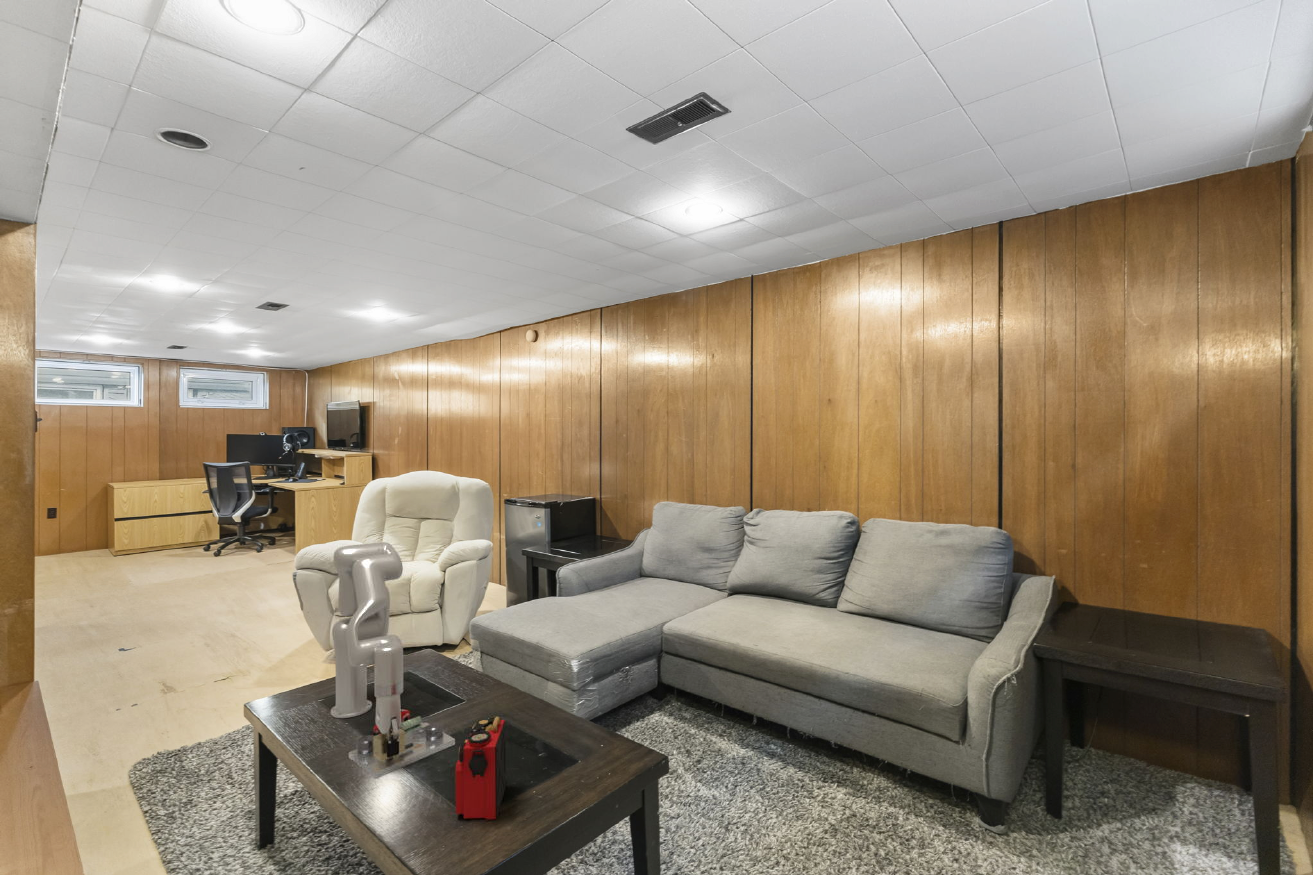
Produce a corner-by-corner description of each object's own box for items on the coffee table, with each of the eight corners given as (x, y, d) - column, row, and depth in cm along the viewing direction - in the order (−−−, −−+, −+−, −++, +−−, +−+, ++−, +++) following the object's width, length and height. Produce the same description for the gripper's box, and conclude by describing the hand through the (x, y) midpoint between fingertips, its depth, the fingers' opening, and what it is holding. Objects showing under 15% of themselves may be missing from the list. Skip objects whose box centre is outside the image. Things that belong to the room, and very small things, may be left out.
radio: (468, 787, 160) (468, 711, 161) (507, 785, 161) (507, 710, 161) (453, 824, 145) (453, 741, 145) (497, 822, 146) (496, 739, 146)
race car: (383, 737, 188) (382, 724, 188) (369, 735, 190) (369, 722, 190) (413, 719, 201) (413, 706, 201) (400, 716, 203) (400, 704, 203)
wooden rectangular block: (381, 764, 168) (381, 741, 168) (373, 759, 171) (373, 736, 171) (416, 749, 177) (416, 726, 177) (408, 744, 179) (408, 722, 179)
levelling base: (348, 757, 176) (348, 736, 176) (426, 727, 194) (426, 708, 194) (375, 778, 165) (375, 756, 165) (455, 744, 183) (454, 724, 183)
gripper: (368, 681, 177) (368, 741, 177) (382, 701, 163) (382, 767, 163) (395, 675, 182) (395, 734, 182) (411, 694, 168) (411, 758, 168)
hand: (389, 749), depth 173 cm, fingers open, 7 cm apart
